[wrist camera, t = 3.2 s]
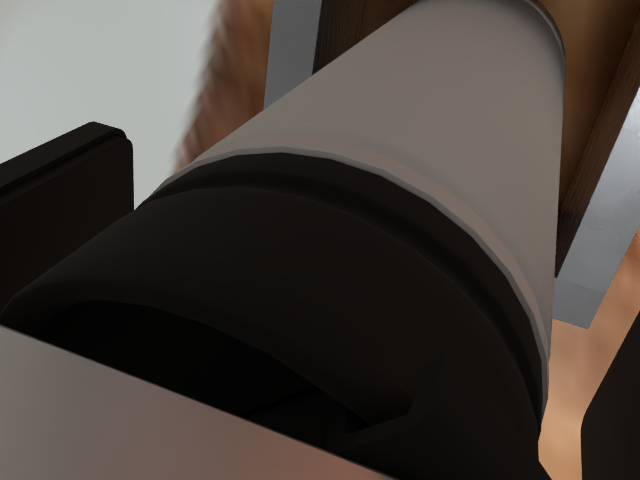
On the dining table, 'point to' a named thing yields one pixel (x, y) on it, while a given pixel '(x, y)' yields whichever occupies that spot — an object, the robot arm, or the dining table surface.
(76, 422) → the robot arm
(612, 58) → the dining table surface
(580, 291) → the socket block
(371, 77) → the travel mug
